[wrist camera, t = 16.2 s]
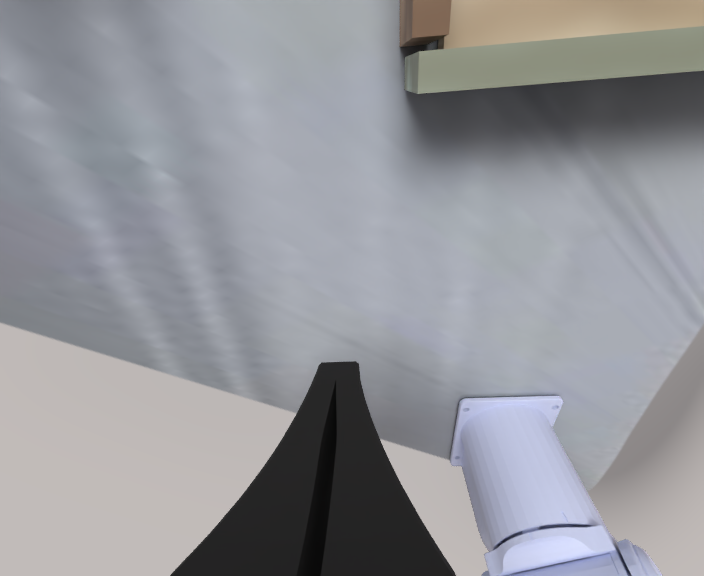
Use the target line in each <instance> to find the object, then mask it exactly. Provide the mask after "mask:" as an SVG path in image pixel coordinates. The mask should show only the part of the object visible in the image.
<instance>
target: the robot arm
mask: <svg viewBox="0 0 704 576" xmlns="http://www.w3.org/2000/svg"><path fill="white" fill-rule="evenodd" d="M562 404H563V400H562V398H561V397H560V396H527V397H493V398H465V399H462V400H461V401H460V402H459V408H458V414H457V420H456V426H455V432H454V438H453V444H452V450H451V456H450V463H451V465H452V466H462V469H463V473H464V476H465V481H466V484H467V488H468V492H469V496H470V500H471V504H472V507H473V511H474V515H475V519H476V523H477V527H478V530H479V533H480V536H481V538H482V541H483V543H484V544H485V546H486V548H487V549H488V551H489V552H488V553H485V554H484V556H485V560H486V563H487V567H488V571H485V572H484V573H483V574H482V576H662V574H661V572H660V571H659V569H658V568H657V566H656V565H655V563H654V562H653V560H652V559H651V557H650V556H649V555H648V553H647V552H646V551H645V550H644V549H642V548H640V547H638V546H636V545H633V544H632V543H631V541H629V540H626V539H625V540H622V541H619V542H617V541H616V540H615V538H614V537H613V536H612V535H611V534H610V533H609V531H608V529H607V527H606V526H605V524H604V522H603V520H602V518H601V516H600V514H599V513H598V511H597V509H596V507H595V505H594V503H593V502H592V500H591V498H590V496H589V494H588V492H587V491H586V489H585V487H584V485H583V483H582V481H581V480H580V478H579V476H578V474H577V472H576V470H575V469H574V467H573V465H572V463H571V461H570V459H569V458H568V456H567V454H566V452H565V450H564V448H563V447H562V445H561V443H560V441H559V439H558V438H557V436H556V434H555V432H554V430H553V428H552V427H553V425H554V423H555V420H556V418H557V416H558V414H559V411H560V409H561V407H562ZM170 576H456V575H455V572H454V571H453V569H452V568H451V566H450V565H449V563H448V562H447V560H446V559H445V557H444V556H443V554H442V552H441V551H440V549H439V548H438V546H437V545H436V543H435V541H434V540H433V538H432V537H431V535H430V534H429V532H428V530H427V529H426V527H425V525H424V524H423V522H422V520H421V519H420V517H419V515H418V514H417V512H416V510H415V508H414V507H413V505H412V503H411V501H410V499H409V497H408V496H407V494H406V492H405V490H404V489H403V487H402V485H401V483H400V481H399V479H398V477H397V475H396V473H395V471H394V469H393V467H392V465H391V463H390V461H389V459H388V457H387V455H386V452H385V450H384V448H383V446H382V444H381V441H380V439H379V436H378V434H377V431H376V429H375V426H374V424H373V421H372V418H371V416H370V413H369V410H368V407H367V404H366V400H365V397H364V393H363V389H362V385H361V381H360V372H359V364H358V363H357V362H356V361H355V362H327V363H321V364H320V365H319V366H318V369H317V372H316V375H315V377H314V379H313V382H312V384H311V386H310V388H309V391H308V393H307V395H306V397H305V399H304V401H303V403H302V405H301V407H300V408H299V410H298V412H297V414H296V416H295V418H294V420H293V421H292V423H291V425H290V427H289V428H288V430H287V432H286V433H285V435H284V437H283V438H282V440H281V442H280V443H279V445H278V446H277V448H276V449H275V451H274V452H273V454H272V455H271V457H270V458H269V460H268V461H267V463H266V464H265V466H264V467H263V468H262V470H261V471H260V473H259V474H258V475H257V476H256V478H255V479H254V480H253V482H252V483H251V484H250V486H249V487H248V488H247V490H246V491H245V492H244V494H243V495H242V496H241V498H240V499H239V500H238V501H237V502H236V503H235V505H234V506H233V507H232V508H231V509H230V511H229V512H228V513H227V514H226V515H225V516H224V517H223V519H222V520H221V521H220V522H219V523H218V525H217V526H216V527H215V528H214V529H213V530H212V531H211V533H210V534H209V535H208V536H207V537H206V538H205V539H204V540H203V541H202V542H201V544H199V545H198V547H197V548H196V549H195V550H194V551H193V552H192V553H191V554H190V555H189V556H188V557H187V558H186V559H185V560H184V561H183V562H182V563H181V564H180V566H179V567H178V568H177V569H176V570H175V571H174V572H173V573H172V574H171V575H170Z"/></svg>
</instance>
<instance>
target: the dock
mask: <svg viewBox="0 0 704 576" xmlns="http://www.w3.org/2000/svg"><path fill="white" fill-rule="evenodd" d="M451 1H452V0H400V47H405V46H416V45H427V44H430V43H432V42H434V41H436V40H438V39H440V38H443V37H445V36H447V35H449V28H450V15H451Z"/></svg>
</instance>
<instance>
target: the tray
mask: <svg viewBox="0 0 704 576" xmlns="http://www.w3.org/2000/svg"><path fill="white" fill-rule="evenodd" d="M692 71H704V0H452V1H451V15H450V28H449V35H447V36H445V37H443V38H440V39H438V50H429V51H419V52H416V53H414V54H412V55H409V56H407V57H405V89H404V90H407V91H410V92H413V93H416V94H423V93H435V92H447V91H460V90H472V89H484V88H496V87H509V86H521V85H533V84H545V83H558V82H570V81H582V80H594V79H607V78H619V77H631V76H643V75H656V74H668V73H680V72H692Z"/></svg>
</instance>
